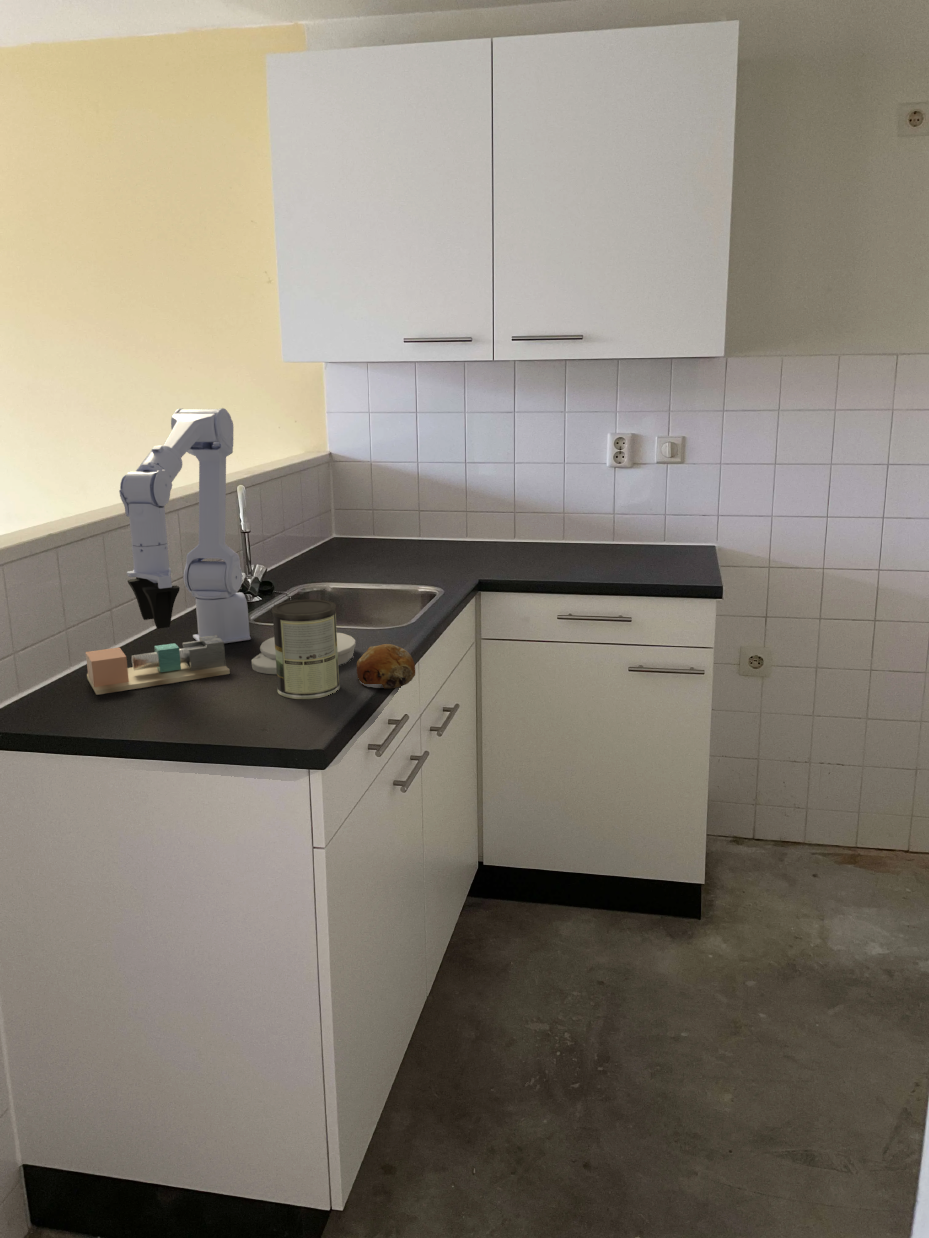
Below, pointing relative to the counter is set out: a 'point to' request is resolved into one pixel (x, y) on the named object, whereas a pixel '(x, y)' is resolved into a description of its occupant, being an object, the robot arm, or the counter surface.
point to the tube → (162, 658)
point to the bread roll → (386, 666)
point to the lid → (268, 657)
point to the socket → (107, 667)
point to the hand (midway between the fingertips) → (156, 623)
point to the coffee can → (306, 648)
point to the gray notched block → (206, 653)
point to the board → (158, 678)
